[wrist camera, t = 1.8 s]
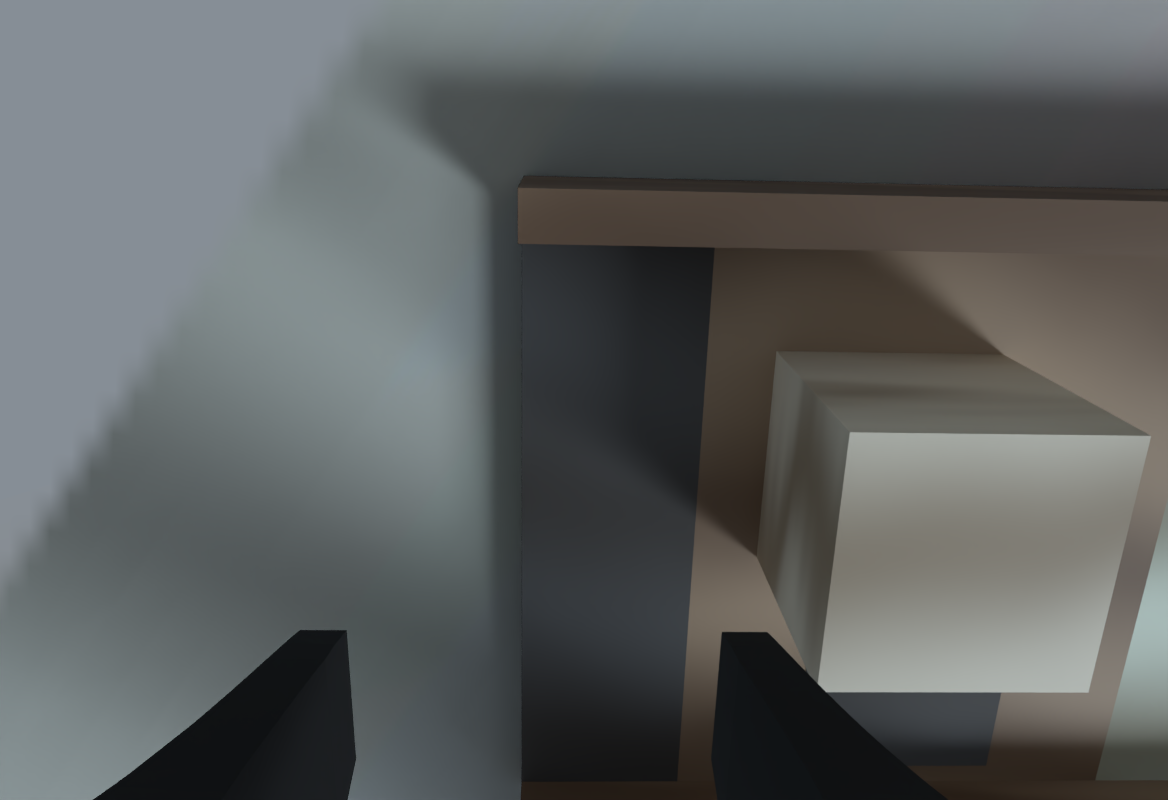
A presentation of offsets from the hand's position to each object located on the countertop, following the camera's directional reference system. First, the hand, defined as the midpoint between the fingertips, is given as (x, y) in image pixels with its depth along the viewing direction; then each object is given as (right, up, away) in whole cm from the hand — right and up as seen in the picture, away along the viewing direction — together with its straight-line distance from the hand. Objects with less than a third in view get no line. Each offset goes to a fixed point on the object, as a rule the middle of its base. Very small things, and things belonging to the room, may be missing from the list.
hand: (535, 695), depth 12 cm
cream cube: (+7, +3, +8) cm, 11 cm away
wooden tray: (+11, +1, +10) cm, 15 cm away
